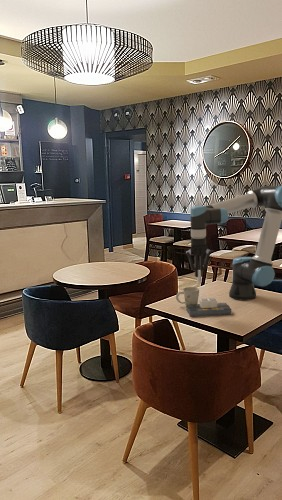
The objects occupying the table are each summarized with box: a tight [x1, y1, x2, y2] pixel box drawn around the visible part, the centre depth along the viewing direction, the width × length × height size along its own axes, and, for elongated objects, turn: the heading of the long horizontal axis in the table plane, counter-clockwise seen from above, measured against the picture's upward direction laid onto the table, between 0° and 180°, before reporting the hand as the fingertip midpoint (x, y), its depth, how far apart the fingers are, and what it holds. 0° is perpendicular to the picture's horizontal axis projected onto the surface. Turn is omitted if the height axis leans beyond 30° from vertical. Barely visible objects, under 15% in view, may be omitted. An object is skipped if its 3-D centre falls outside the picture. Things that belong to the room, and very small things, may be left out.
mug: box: [175, 286, 200, 309], centre depth 212 cm, size 8×13×10 cm, turn 78°
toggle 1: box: [199, 298, 209, 308], centre depth 203 cm, size 4×4×4 cm
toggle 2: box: [207, 297, 218, 308], centre depth 203 cm, size 4×4×4 cm
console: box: [186, 302, 232, 318], centre depth 203 cm, size 21×10×3 cm, turn 94°
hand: (199, 283), depth 200 cm, fingers closed
